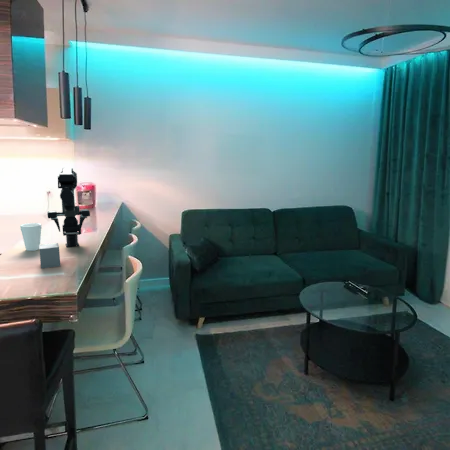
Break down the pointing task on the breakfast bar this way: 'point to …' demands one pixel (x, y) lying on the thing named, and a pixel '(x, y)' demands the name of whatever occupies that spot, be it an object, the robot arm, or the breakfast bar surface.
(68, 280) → the breakfast bar surface
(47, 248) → the matte grey cube
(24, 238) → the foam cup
